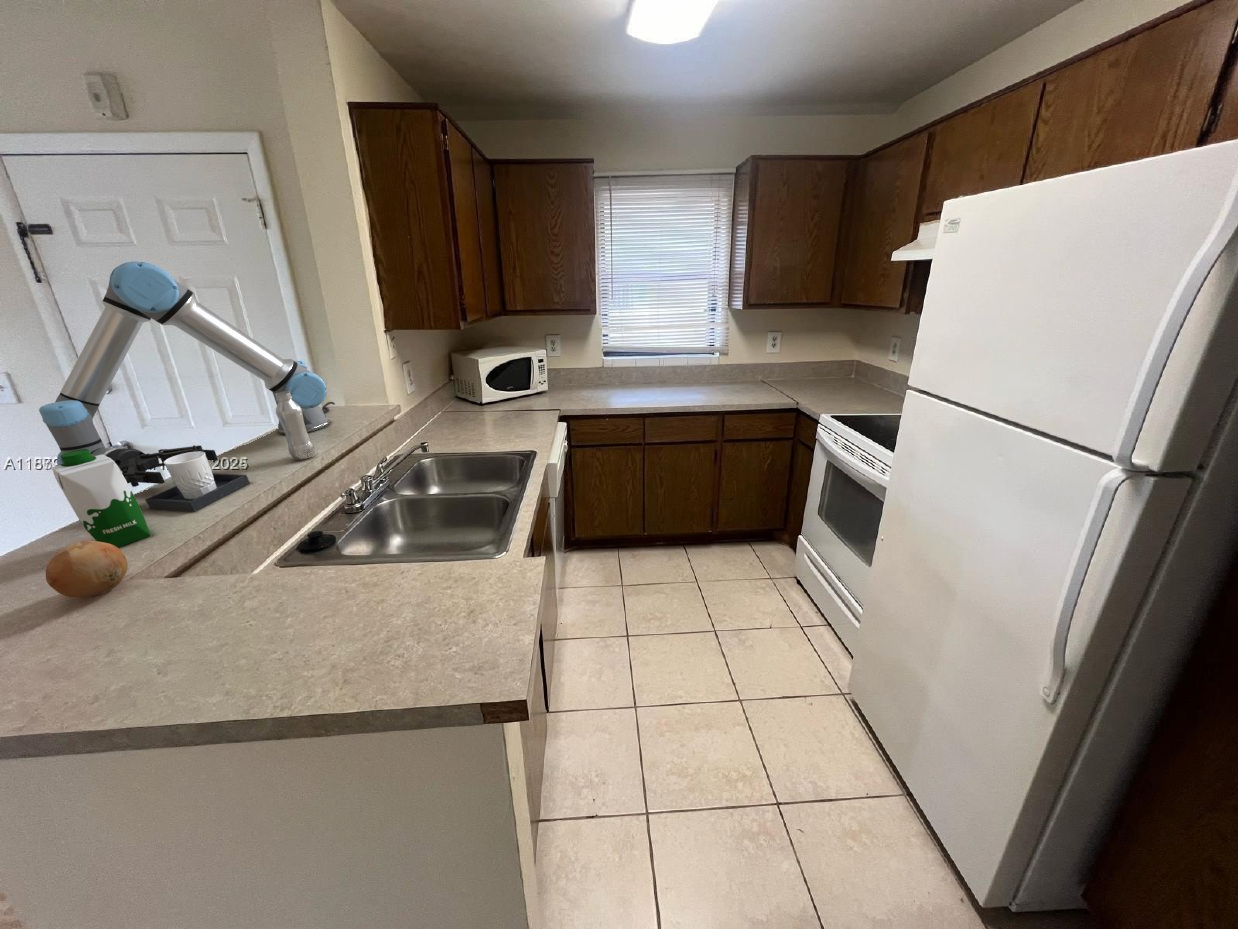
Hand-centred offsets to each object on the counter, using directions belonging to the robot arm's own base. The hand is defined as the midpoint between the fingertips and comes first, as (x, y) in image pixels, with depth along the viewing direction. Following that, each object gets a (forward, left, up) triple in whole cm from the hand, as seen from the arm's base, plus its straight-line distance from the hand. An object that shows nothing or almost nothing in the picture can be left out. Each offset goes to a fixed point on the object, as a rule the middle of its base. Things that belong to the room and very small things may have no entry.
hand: (189, 466), depth 117 cm
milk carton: (+20, +3, -8) cm, 22 cm away
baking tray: (0, 0, -8) cm, 8 cm away
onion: (+35, +19, -8) cm, 41 cm away
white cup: (0, 0, -8) cm, 8 cm away
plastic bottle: (-25, +8, -8) cm, 27 cm away
